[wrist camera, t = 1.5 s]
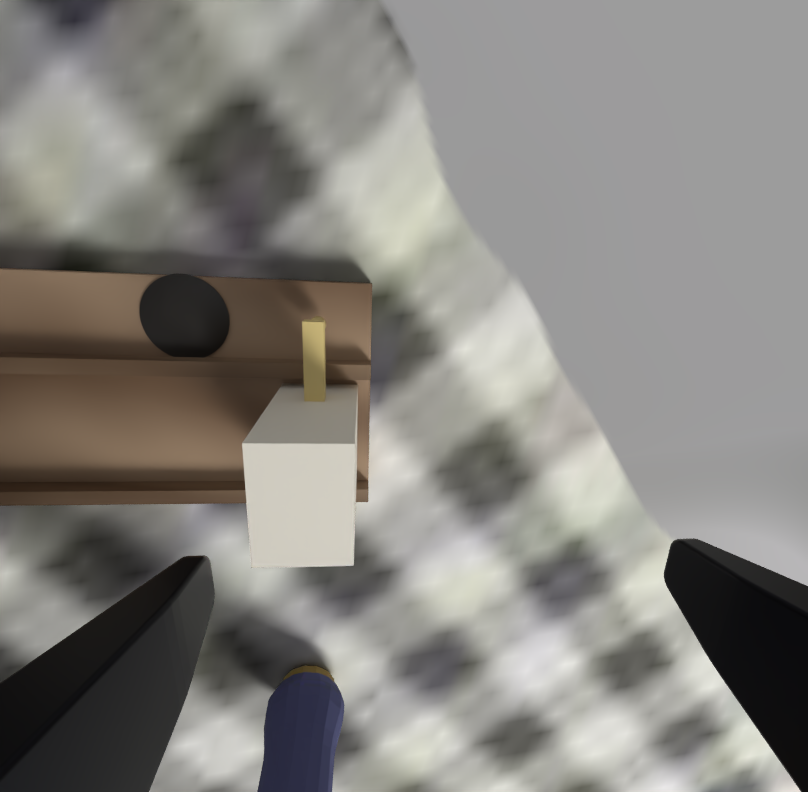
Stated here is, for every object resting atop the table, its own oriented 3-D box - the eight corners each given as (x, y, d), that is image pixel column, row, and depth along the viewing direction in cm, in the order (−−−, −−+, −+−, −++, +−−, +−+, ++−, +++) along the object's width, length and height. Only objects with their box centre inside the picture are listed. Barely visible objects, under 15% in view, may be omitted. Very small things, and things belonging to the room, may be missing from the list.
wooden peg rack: (367, 479, 20) (369, 591, 13) (-103, 481, 18) (-387, 614, 11) (371, 280, 17) (376, 291, 11) (-180, 257, 15) (-615, 252, 9)
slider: (356, 472, 18) (353, 565, 13) (286, 472, 18) (251, 568, 13) (358, 315, 17) (355, 342, 11) (280, 312, 16) (234, 339, 11)
